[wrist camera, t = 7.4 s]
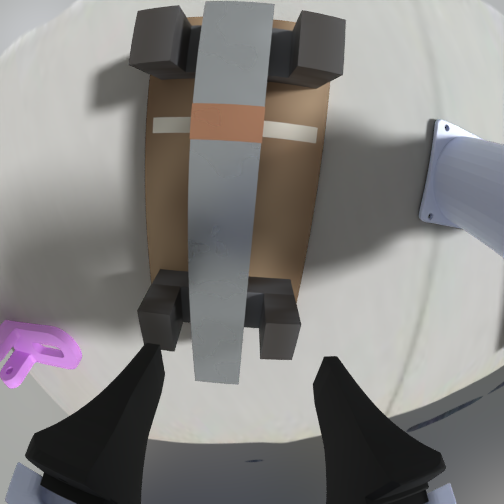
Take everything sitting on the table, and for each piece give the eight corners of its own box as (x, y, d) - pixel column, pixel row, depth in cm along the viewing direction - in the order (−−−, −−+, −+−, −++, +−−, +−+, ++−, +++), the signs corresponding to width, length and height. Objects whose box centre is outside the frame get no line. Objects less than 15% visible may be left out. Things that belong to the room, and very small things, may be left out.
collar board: (331, 32, 13) (361, 1, 8) (290, 322, 22) (299, 374, 17) (160, 23, 12) (128, -9, 7) (157, 311, 22) (137, 360, 17)
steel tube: (270, 26, 11) (275, 4, 8) (239, 354, 20) (238, 384, 17) (213, 23, 11) (204, 1, 8) (200, 350, 20) (194, 380, 17)
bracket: (24, 351, 26) (2, 384, 20) (5, 319, 23) (-22, 352, 17) (89, 363, 25) (67, 409, 19) (69, 326, 23) (38, 373, 17)
